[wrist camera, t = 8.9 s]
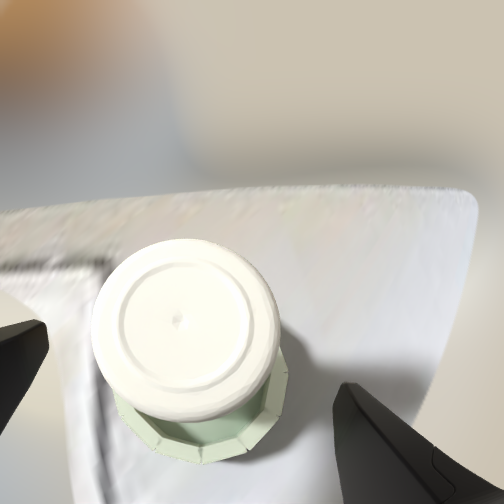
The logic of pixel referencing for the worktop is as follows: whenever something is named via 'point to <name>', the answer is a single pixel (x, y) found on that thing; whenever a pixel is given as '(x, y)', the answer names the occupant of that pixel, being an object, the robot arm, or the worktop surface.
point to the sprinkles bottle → (186, 330)
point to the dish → (213, 424)
